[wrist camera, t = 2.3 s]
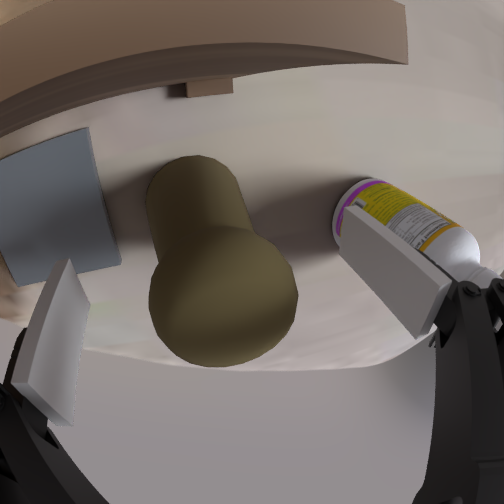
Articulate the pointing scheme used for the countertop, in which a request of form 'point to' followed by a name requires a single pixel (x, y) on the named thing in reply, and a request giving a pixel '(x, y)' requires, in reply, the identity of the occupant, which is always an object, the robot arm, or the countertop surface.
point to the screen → (179, 47)
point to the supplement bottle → (418, 229)
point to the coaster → (54, 210)
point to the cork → (213, 268)
